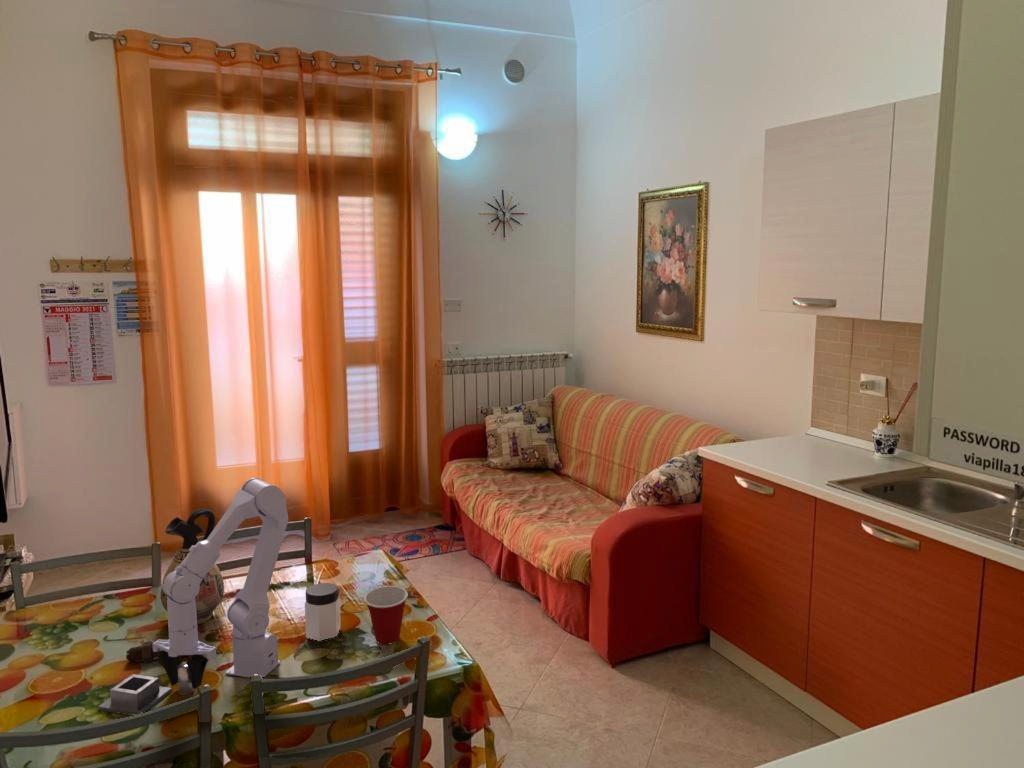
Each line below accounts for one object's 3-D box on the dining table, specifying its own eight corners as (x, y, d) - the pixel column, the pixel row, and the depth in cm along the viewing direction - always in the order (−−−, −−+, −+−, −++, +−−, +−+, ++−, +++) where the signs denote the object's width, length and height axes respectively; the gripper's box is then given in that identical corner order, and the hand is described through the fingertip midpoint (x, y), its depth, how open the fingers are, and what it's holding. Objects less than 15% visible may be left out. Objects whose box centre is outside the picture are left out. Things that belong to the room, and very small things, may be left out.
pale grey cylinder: (197, 688, 166) (196, 662, 165) (188, 695, 163) (186, 669, 162) (185, 686, 167) (183, 660, 166) (175, 693, 164) (173, 667, 163)
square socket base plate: (171, 691, 165) (170, 675, 164) (138, 716, 155) (137, 699, 155) (133, 685, 167) (132, 669, 167) (98, 709, 158) (97, 692, 157)
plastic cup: (356, 645, 186) (355, 599, 184) (378, 627, 196) (377, 583, 194) (395, 653, 182) (394, 606, 180) (416, 634, 192) (415, 589, 190)
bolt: (129, 668, 178) (197, 658, 182) (124, 667, 174) (194, 657, 178) (130, 642, 181) (197, 633, 184) (125, 641, 176) (193, 631, 180)
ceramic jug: (173, 638, 190) (166, 523, 186) (155, 617, 201) (148, 509, 197) (240, 618, 201) (235, 509, 197) (219, 600, 212) (213, 497, 208)
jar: (336, 641, 188) (334, 596, 186) (303, 642, 187) (301, 596, 186) (343, 625, 197) (341, 581, 195) (311, 626, 196) (310, 582, 195)
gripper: (141, 630, 161) (145, 689, 163) (200, 638, 157) (203, 698, 159) (163, 616, 168) (167, 673, 170) (220, 623, 164) (223, 681, 166)
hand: (186, 684), depth 165 cm, fingers open, 5 cm apart
